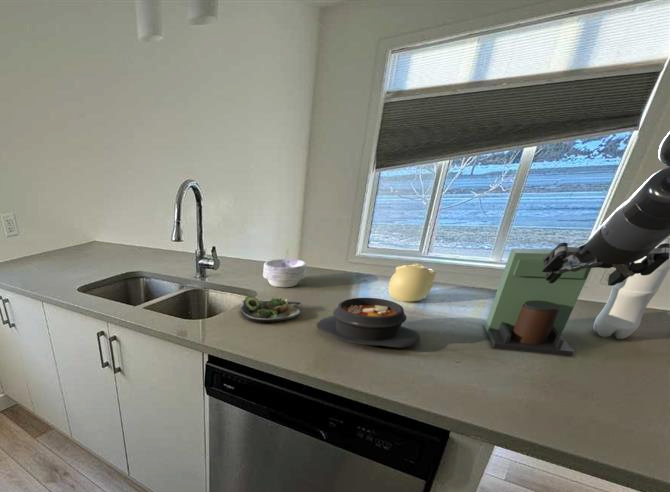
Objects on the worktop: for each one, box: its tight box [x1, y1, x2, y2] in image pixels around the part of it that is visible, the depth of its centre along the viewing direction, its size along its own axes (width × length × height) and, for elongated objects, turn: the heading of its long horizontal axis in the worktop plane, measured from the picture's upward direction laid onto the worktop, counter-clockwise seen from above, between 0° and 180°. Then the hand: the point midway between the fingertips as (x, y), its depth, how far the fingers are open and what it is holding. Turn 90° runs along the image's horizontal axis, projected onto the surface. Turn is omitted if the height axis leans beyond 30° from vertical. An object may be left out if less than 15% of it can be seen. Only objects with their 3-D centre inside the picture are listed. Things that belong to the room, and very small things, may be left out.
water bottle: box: [593, 236, 670, 340], centre depth 90 cm, size 7×7×25 cm
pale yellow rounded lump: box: [388, 263, 437, 302], centre depth 125 cm, size 12×12×11 cm
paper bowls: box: [262, 258, 308, 288], centre depth 149 cm, size 15×15×8 cm
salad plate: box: [239, 295, 302, 324], centre depth 126 cm, size 19×18×5 cm
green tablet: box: [484, 248, 592, 357], centre depth 93 cm, size 14×14×20 cm
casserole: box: [316, 297, 421, 349], centre depth 105 cm, size 25×19×8 cm
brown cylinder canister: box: [511, 300, 560, 345], centre depth 94 cm, size 6×6×8 cm
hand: (579, 280), depth 77 cm, fingers open, 8 cm apart
